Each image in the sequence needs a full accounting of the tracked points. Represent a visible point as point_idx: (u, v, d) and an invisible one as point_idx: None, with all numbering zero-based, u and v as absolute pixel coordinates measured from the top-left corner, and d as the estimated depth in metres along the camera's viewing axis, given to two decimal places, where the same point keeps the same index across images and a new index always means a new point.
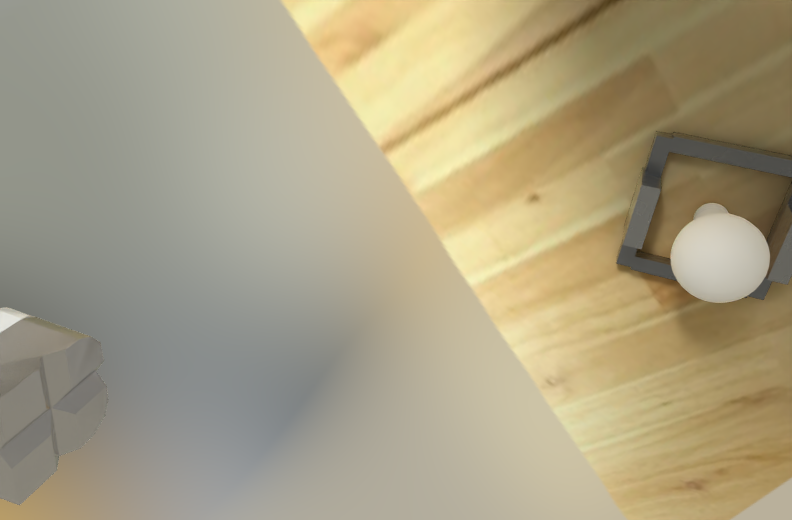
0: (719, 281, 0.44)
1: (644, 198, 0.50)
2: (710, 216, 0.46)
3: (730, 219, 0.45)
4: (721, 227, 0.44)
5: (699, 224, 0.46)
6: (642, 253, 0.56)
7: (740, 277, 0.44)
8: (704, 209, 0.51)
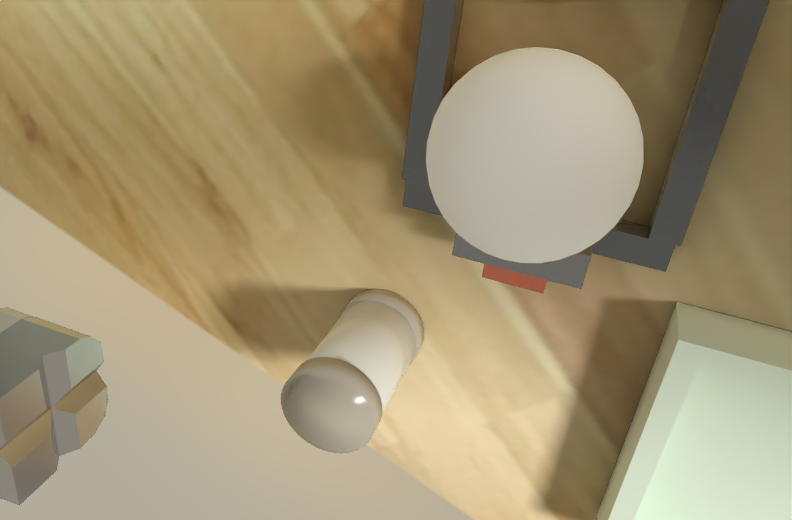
0: (500, 187, 0.17)
1: None
2: (640, 128, 0.19)
3: (640, 175, 0.19)
4: (631, 165, 0.18)
5: (628, 111, 0.18)
6: None
7: (515, 229, 0.18)
8: None
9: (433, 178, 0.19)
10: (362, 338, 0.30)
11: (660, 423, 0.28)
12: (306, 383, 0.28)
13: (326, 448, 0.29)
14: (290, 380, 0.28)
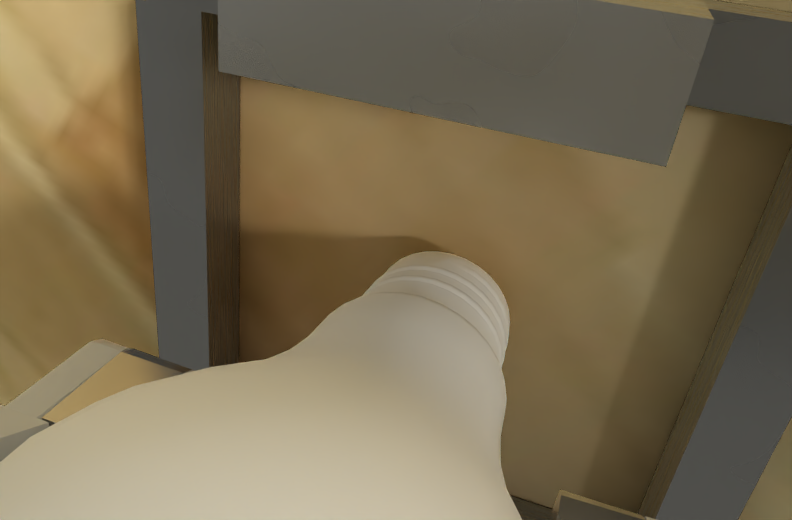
0: None
1: (590, 55, 0.07)
2: None
3: None
4: None
5: None
6: None
7: None
8: (489, 321, 0.11)
9: None
10: None
11: None
12: None
13: None
14: None
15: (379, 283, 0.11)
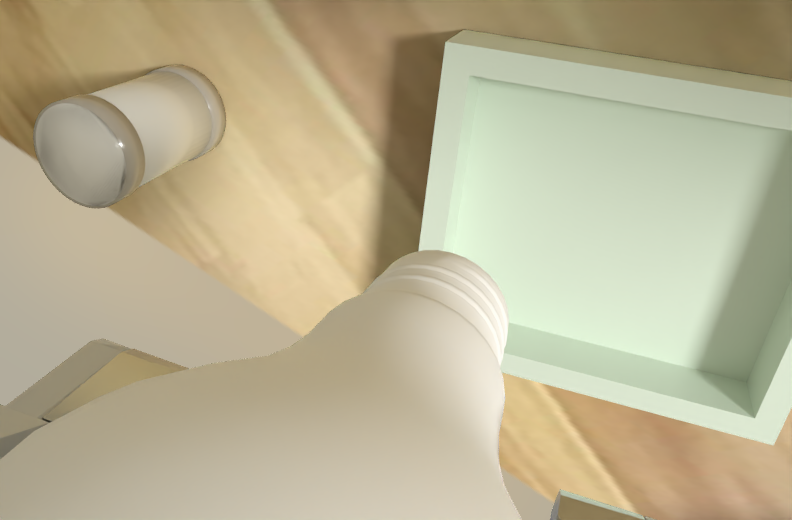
0: None
1: None
2: None
3: None
4: None
5: None
6: None
7: None
8: (488, 320, 0.11)
9: None
10: (131, 88, 0.27)
11: (444, 155, 0.26)
12: (54, 120, 0.25)
13: (89, 204, 0.27)
14: (38, 120, 0.26)
15: (379, 281, 0.11)
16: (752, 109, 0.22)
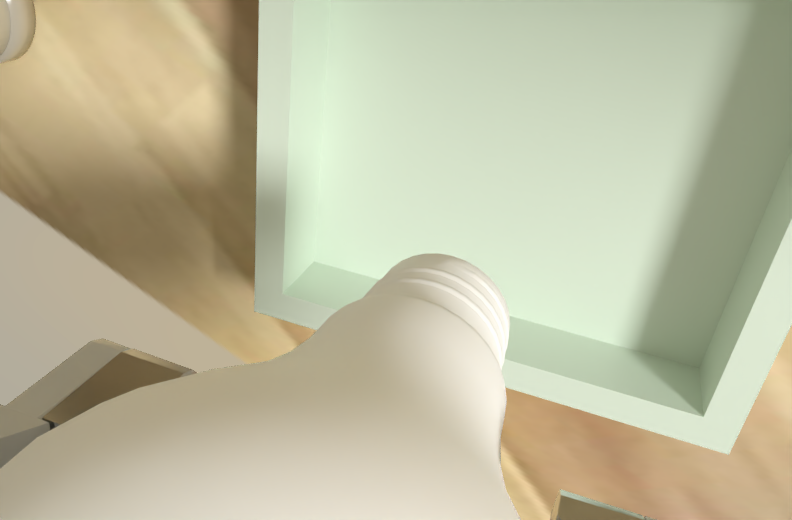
0: None
1: None
2: None
3: None
4: None
5: None
6: None
7: None
8: (489, 323, 0.11)
9: None
10: None
11: (275, 38, 0.18)
12: None
13: None
14: None
15: (380, 285, 0.11)
16: None
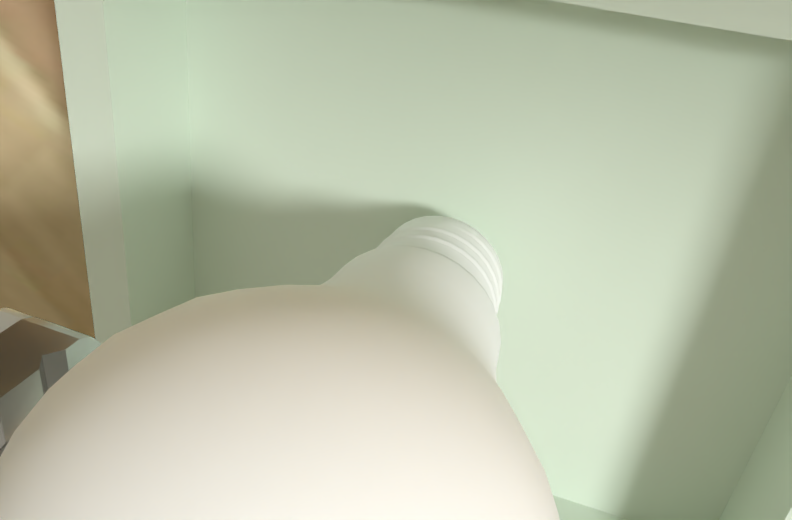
0: None
1: None
2: None
3: None
4: None
5: None
6: None
7: None
8: (485, 275, 0.12)
9: None
10: None
11: (90, 105, 0.12)
12: None
13: None
14: None
15: (387, 241, 0.12)
16: None
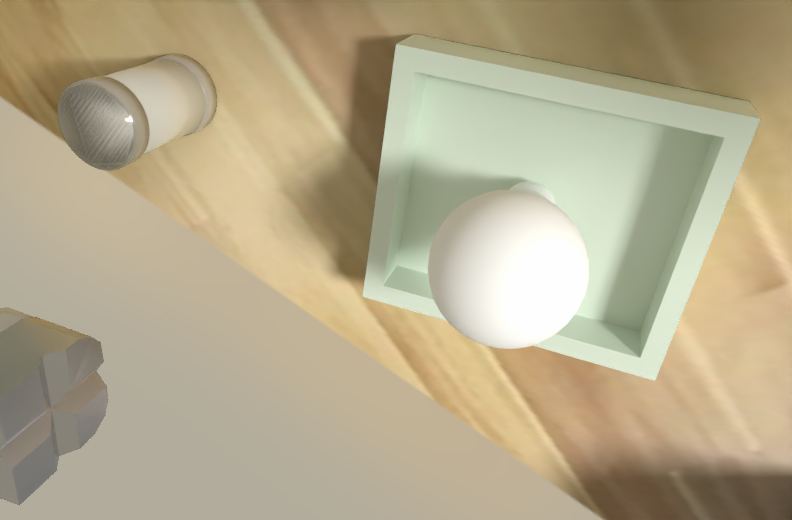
0: (485, 299, 0.24)
1: None
2: (586, 253, 0.25)
3: (586, 288, 0.25)
4: (579, 284, 0.24)
5: (577, 244, 0.25)
6: None
7: (495, 329, 0.24)
8: (551, 202, 0.31)
9: (434, 286, 0.26)
10: (139, 72, 0.33)
11: (394, 135, 0.31)
12: (75, 96, 0.31)
13: (101, 167, 0.32)
14: (62, 95, 0.31)
15: (512, 190, 0.31)
16: (631, 106, 0.28)
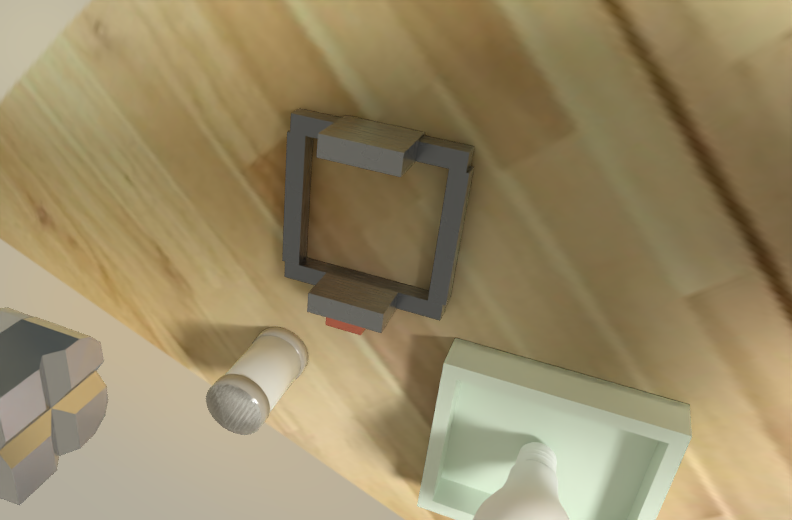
0: None
1: (385, 157, 0.37)
2: None
3: None
4: None
5: None
6: (311, 141, 0.42)
7: None
8: (553, 464, 0.44)
9: None
10: (260, 361, 0.47)
11: (442, 414, 0.45)
12: (220, 390, 0.45)
13: (235, 432, 0.46)
14: (211, 388, 0.45)
15: (525, 453, 0.45)
16: (605, 418, 0.41)
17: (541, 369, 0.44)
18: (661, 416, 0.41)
